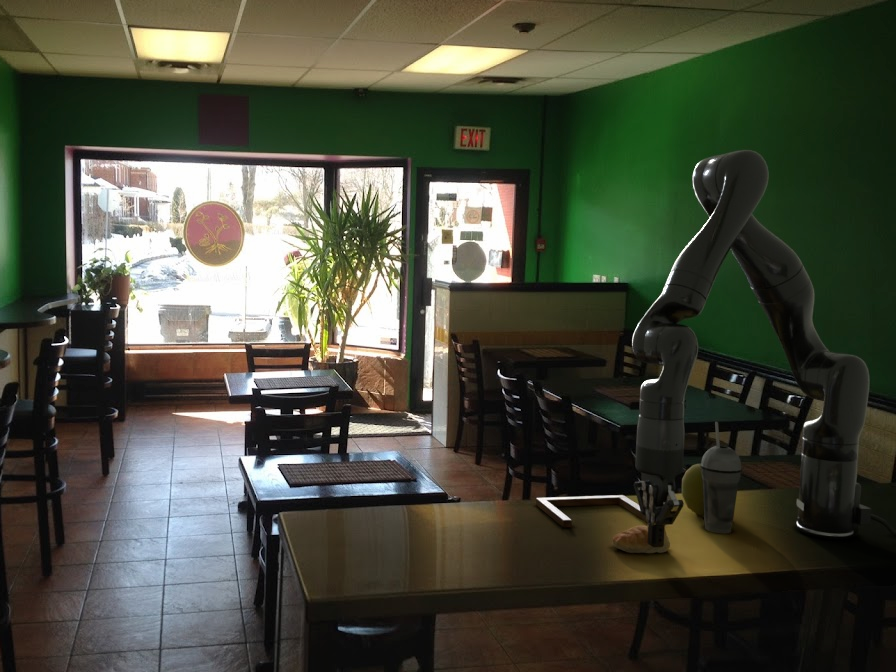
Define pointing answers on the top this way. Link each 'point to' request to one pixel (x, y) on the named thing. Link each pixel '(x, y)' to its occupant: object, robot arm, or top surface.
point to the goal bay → (565, 521)
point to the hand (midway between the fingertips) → (655, 545)
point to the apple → (693, 489)
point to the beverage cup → (720, 486)
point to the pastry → (638, 541)
